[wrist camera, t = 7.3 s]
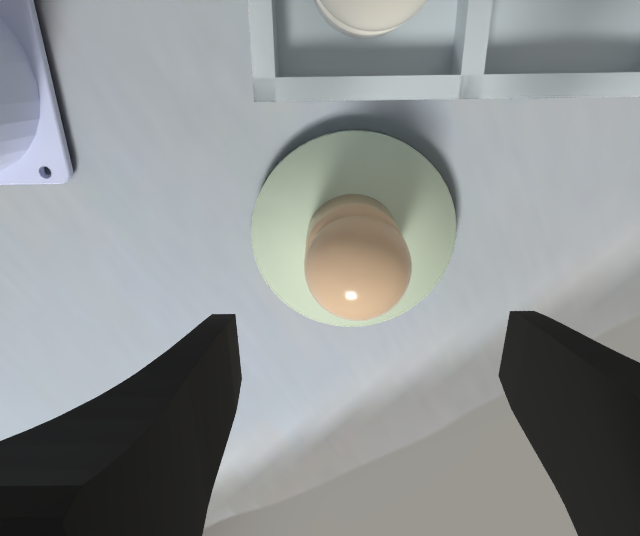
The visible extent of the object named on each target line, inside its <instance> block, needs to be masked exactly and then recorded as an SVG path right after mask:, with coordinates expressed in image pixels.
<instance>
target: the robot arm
mask: <svg viewBox="0 0 640 536" xmlns="http://www.w3.org/2000/svg"><path fill="white" fill-rule="evenodd" d="M45 166H46V167H48V168H49V169H50V170H51V172H52V173H51V177H50V176H48V175H47V174H46V173H45V171H44V167H45ZM72 177H73V168H72V164H71V160H70V155H69V151H68V147H67V142H66V138H65V134H64V130H63V125H62V121H61V117H60V112H59V108H58V104H57V99H56V95H55V91H54V87H53V82H52V78H51V74H50V69H49V65H48V61H47V56H46V52H45V48H44V43H43V39H42V35H41V31H40V26H39V22H38V18H37V13H36V9H35V5H34V0H0V185H6V184H62V183H66V182H68V181H70V180H71V179H72ZM499 378H500V381H501V384H502V386H503V389H504V392H505V394H506V397H507V399H508V402H509V404H510V407H511V409H512V411H513V413H514V415H515V417H516V418H517V420H518V422H519V424H520V425H521V427H522V429H523V431H524V433H525V434H526V436H527V438H528V440H529V441H530V443H531V445H532V447H533V448H534V450H535V452H536V454H537V455H538V457H539V459H540V461H541V462H542V464H543V466H544V468H545V469H546V471H547V473H548V475H549V476H550V478H551V480H552V482H553V483H554V485H555V487H556V489H557V491H558V493H559V495H560V497H561V498H562V501H563V503H564V504H565V507H566V509H567V511H568V513H569V516H570V518H571V520H572V522H573V525H574V527H575V529H576V532H577V534H578V536H640V363H639V362H637V361H635V360H633V359H630V358H628V357H626V356H624V355H622V354H620V353H618V352H616V351H614V350H612V349H610V348H608V347H606V346H604V345H602V344H600V343H598V342H596V341H594V340H592V339H590V338H588V337H586V336H585V335H583V334H581V333H579V332H577V331H575V330H573V329H571V328H569V327H567V326H565V325H563V324H561V323H559V322H557V321H555V320H553V319H551V318H549V317H547V316H545V315H543V314H540V313H538V312H535V311H510V315H509V320H508V326H507V332H506V337H505V343H504V348H503V354H502V360H501V365H500V371H499ZM241 380H242V375H241V366H240V356H239V346H238V336H237V326H236V316H235V314H212V315H211V316H209V317H208V318H207V319H205V320H204V321H203V322H202V323H201V324H199V325H198V326H197V327H196V328H195V329H193V330H192V331H191V332H190V333H189V334H187V335H186V336H185V337H184V338H182V339H181V340H180V341H179V342H177V343H176V344H175V345H174V346H172V347H171V348H170V349H169V350H167V351H166V352H165V353H163V354H162V355H161V356H159V357H158V358H157V359H155V360H154V361H152V362H151V363H150V364H148V365H147V366H146V367H144V368H143V369H141V370H140V371H139V372H137V373H136V374H134V375H133V376H131V377H130V378H128V379H126V380H125V381H123V382H122V383H120V384H118V385H117V386H115V387H113V388H112V389H110V390H108V391H107V392H105V393H103V394H101V395H100V396H98V397H96V398H94V399H92V400H90V401H88V402H86V403H84V404H82V405H80V406H78V407H76V408H74V409H72V410H70V411H68V412H66V413H64V414H62V415H60V416H58V417H56V418H54V419H52V420H50V421H48V422H45V423H43V424H41V425H38V426H36V427H34V428H32V429H29V430H27V431H24V432H22V433H19V434H17V435H14V436H12V437H9V438H7V439H4V440H2V441H0V536H202V534H203V529H204V524H205V519H206V514H207V509H208V504H209V501H210V497H211V493H212V489H213V486H214V483H215V479H216V476H217V473H218V470H219V466H220V463H221V460H222V457H223V454H224V450H225V447H226V444H227V441H228V437H229V434H230V431H231V428H232V424H233V421H234V418H235V414H236V410H237V405H238V399H239V393H240V386H241Z"/></svg>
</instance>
